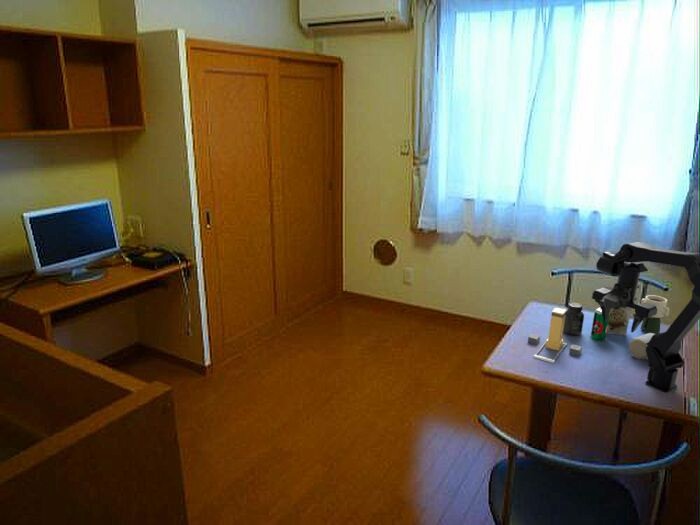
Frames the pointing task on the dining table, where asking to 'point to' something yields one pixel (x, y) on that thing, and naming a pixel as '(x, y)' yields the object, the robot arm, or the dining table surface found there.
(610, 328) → the coffee box
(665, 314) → the character mug
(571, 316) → the supplement bottle
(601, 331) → the soda can
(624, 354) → the dining table surface
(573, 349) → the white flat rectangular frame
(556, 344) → the amber handle
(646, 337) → the ceramic mug
